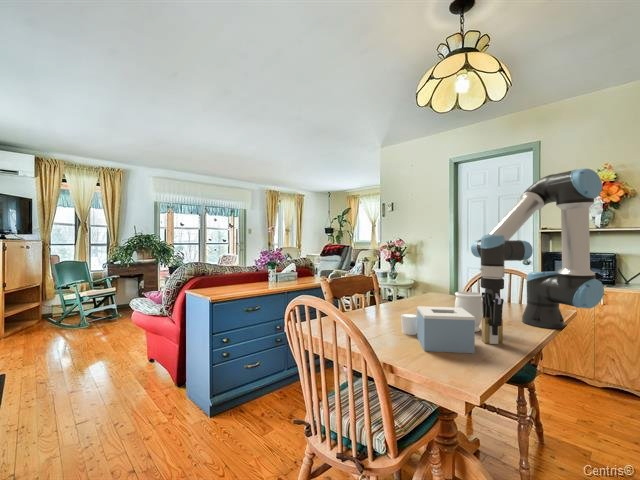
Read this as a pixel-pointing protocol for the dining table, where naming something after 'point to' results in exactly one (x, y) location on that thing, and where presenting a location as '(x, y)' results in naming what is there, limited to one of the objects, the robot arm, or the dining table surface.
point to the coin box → (446, 329)
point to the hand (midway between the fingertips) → (491, 341)
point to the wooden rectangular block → (485, 331)
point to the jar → (471, 305)
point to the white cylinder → (409, 324)
